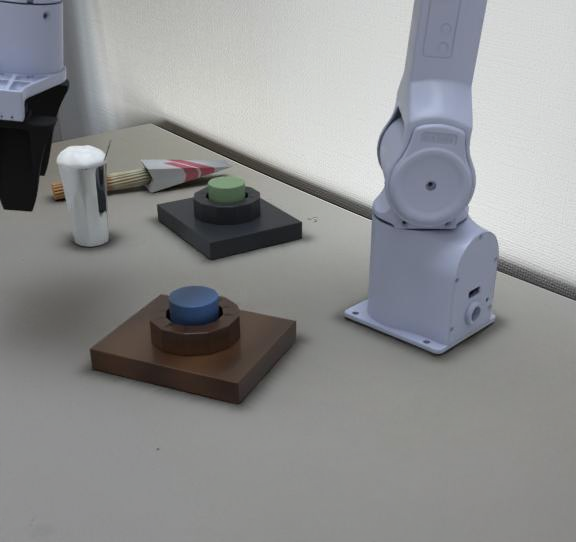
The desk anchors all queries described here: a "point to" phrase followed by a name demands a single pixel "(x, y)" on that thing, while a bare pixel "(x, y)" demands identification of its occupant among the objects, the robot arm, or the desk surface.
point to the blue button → (194, 306)
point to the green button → (226, 189)
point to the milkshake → (85, 192)
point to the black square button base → (228, 223)
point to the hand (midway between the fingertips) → (25, 190)
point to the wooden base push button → (196, 350)
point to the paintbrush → (157, 174)
